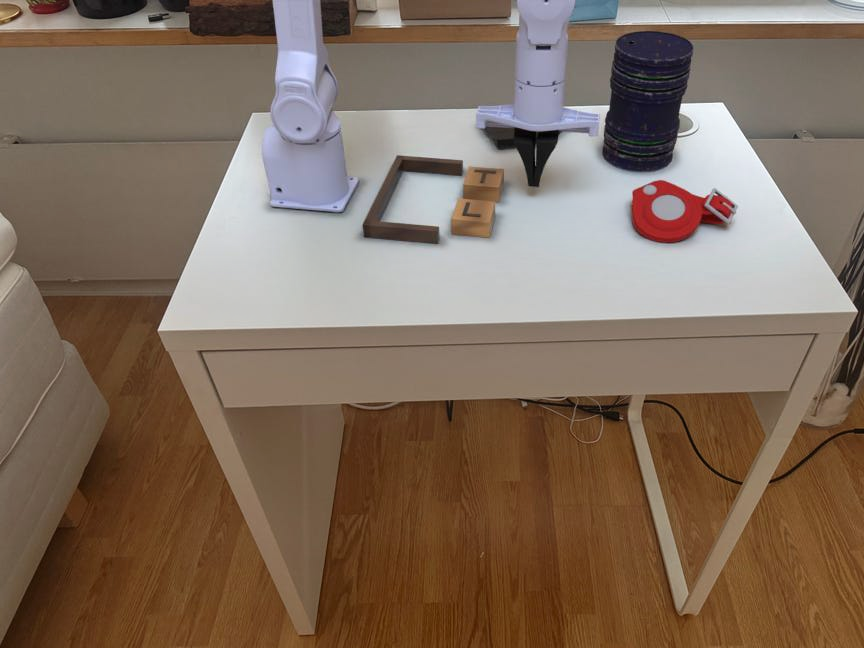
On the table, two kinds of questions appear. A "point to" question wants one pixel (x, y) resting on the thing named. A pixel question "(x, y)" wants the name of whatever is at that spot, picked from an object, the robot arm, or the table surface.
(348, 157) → the table surface
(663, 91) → the dark blue barrel
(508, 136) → the dark sector wedge
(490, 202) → the l tile
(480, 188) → the t tile
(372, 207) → the frame
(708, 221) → the tracker holder
